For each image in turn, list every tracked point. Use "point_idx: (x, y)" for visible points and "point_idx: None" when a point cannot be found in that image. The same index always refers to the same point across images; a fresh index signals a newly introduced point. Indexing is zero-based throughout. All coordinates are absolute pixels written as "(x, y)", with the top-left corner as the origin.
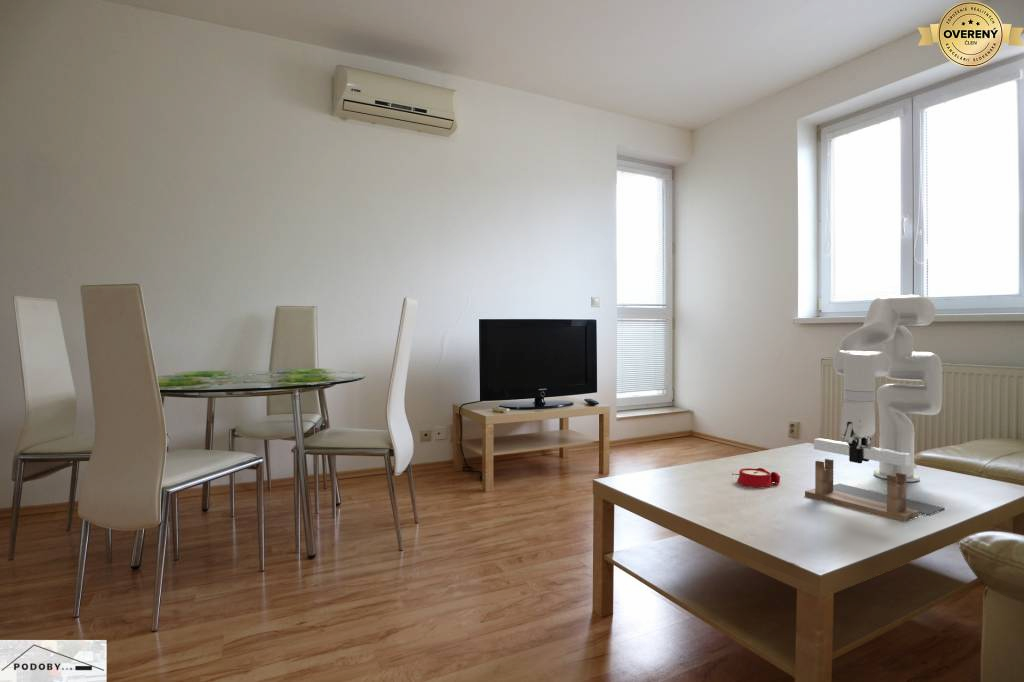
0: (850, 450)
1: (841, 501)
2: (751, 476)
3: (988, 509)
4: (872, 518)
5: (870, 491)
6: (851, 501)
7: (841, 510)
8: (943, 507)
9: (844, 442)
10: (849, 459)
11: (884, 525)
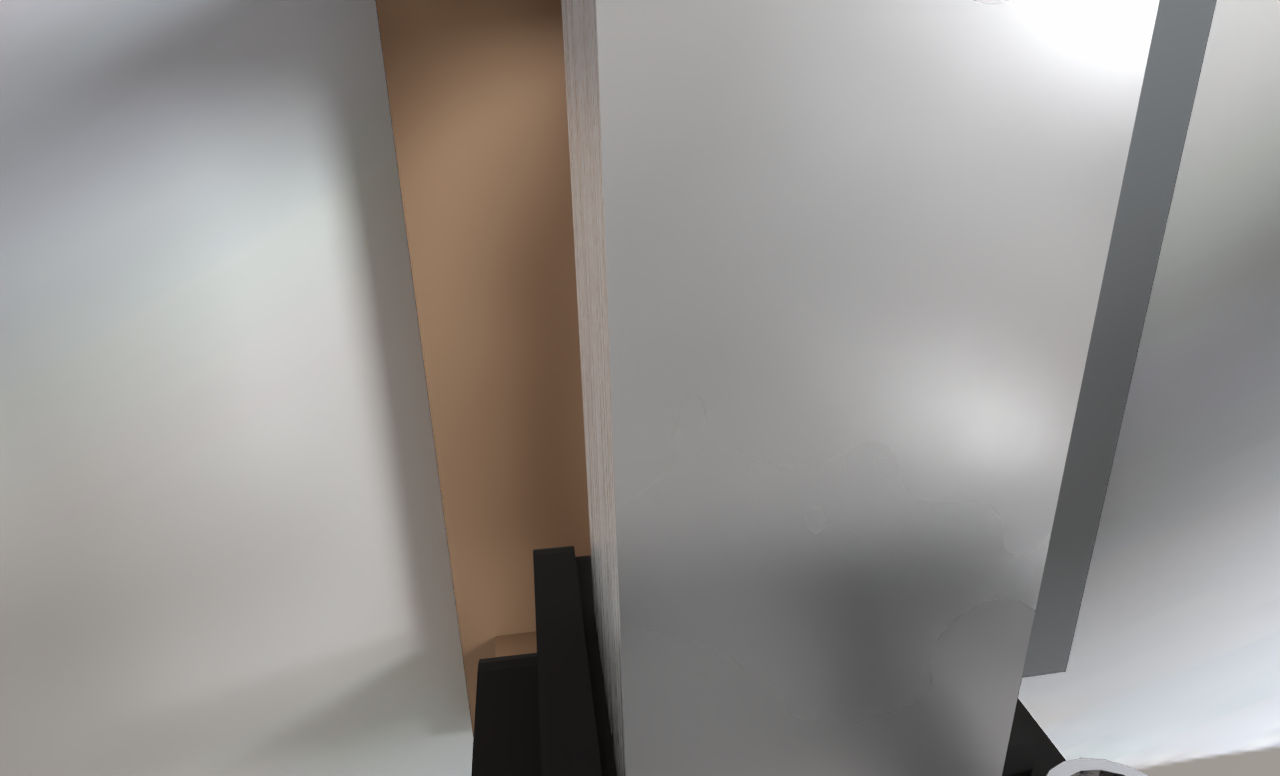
0: (545, 756)
1: (413, 265)
2: None
3: (1261, 746)
4: (330, 587)
5: (1151, 149)
6: (478, 343)
7: (267, 344)
8: (1064, 666)
9: (1006, 480)
10: (536, 565)
11: (251, 710)
